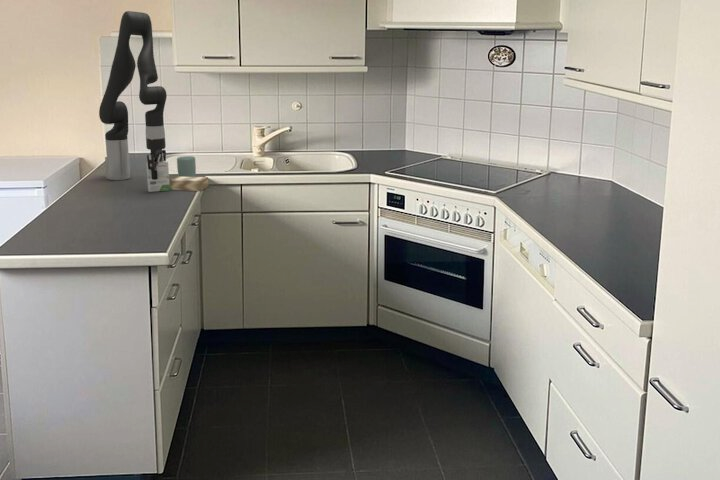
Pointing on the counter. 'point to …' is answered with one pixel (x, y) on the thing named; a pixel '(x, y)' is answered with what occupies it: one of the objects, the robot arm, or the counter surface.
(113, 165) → the robot arm
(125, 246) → the counter surface
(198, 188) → the plinth
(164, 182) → the ink box
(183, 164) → the cup
